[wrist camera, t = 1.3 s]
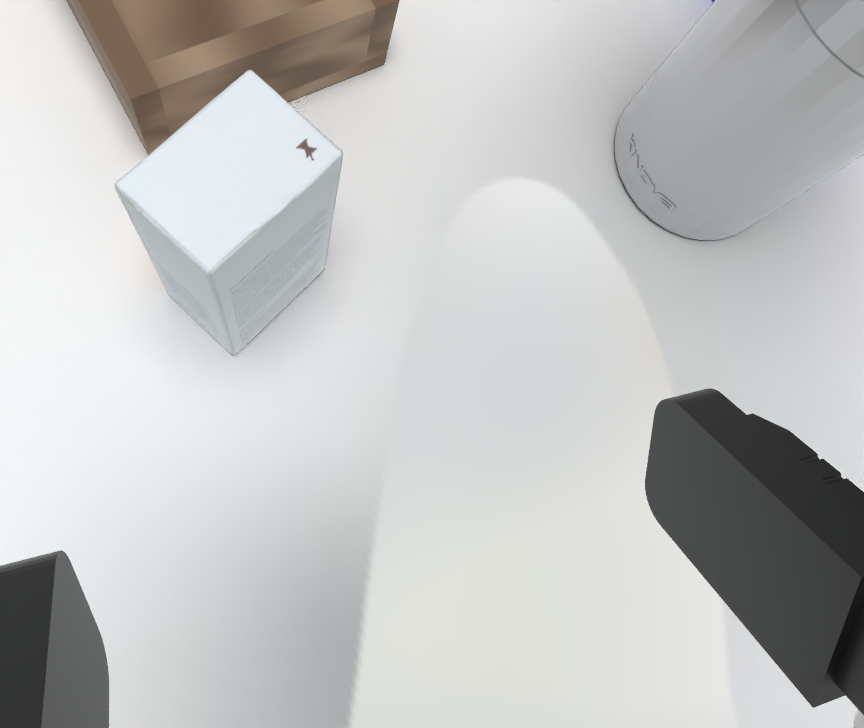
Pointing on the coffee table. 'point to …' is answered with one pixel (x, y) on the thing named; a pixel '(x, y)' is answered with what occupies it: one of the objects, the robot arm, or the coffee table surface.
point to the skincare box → (237, 209)
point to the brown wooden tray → (227, 50)
